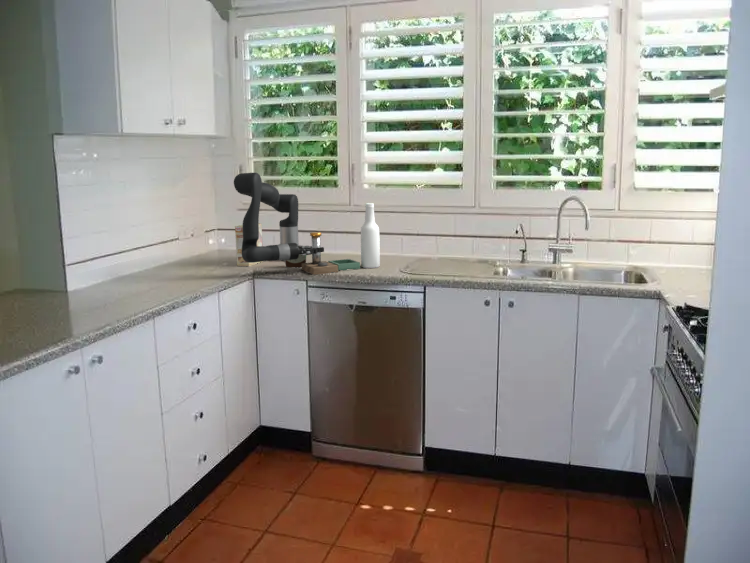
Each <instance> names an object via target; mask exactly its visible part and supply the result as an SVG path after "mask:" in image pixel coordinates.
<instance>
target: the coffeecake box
mask: <svg viewBox="0 0 750 563" xmlns="http://www.w3.org/2000/svg"><path fill="white" fill-rule="evenodd" d="M262 226H263V225H262V223H259V233H258V234H259V239H258V240H257V246H263V229H262V228H263V227H262ZM234 228H235V229H234V231H235V232H234V233H235V236H234V237H235V251H236V254H235V256H236V266H237V267H246V266H248V267H253V266H254V265H258V264H261V263H264V261H262V262H261V263H260V262H254V263H248V262H246V261H244V259H243V257H242V242H243V224H241V225H235V226H234ZM257 263H258V264H257Z"/></svg>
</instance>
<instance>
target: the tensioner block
mask: <svg viewBox="0 0 750 563" xmlns="http://www.w3.org/2000/svg"><path fill="white" fill-rule="evenodd" d="M301 266H302V268H301V271H303V272H306V273H308V274H311V275H323V274H332V273H331V272H335V273H339V271H338V266H337V265H335V264H332V263H329V262H328V261H326V260H325V261H324V260H323V261H322V260H321V263H318V264H316V265H313V264H312V261H311V262H306V263H301Z"/></svg>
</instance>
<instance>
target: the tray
mask: <svg viewBox="0 0 750 563" xmlns="http://www.w3.org/2000/svg"><path fill="white" fill-rule="evenodd" d="M327 262H329V263H332V264H335V265H337V266H338V270H343V271H348V270H347V269H353V270H360V269H361V261H356V260H354V259H351V258H346V259H336V260H335V259H334V260H328V261H327Z"/></svg>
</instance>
